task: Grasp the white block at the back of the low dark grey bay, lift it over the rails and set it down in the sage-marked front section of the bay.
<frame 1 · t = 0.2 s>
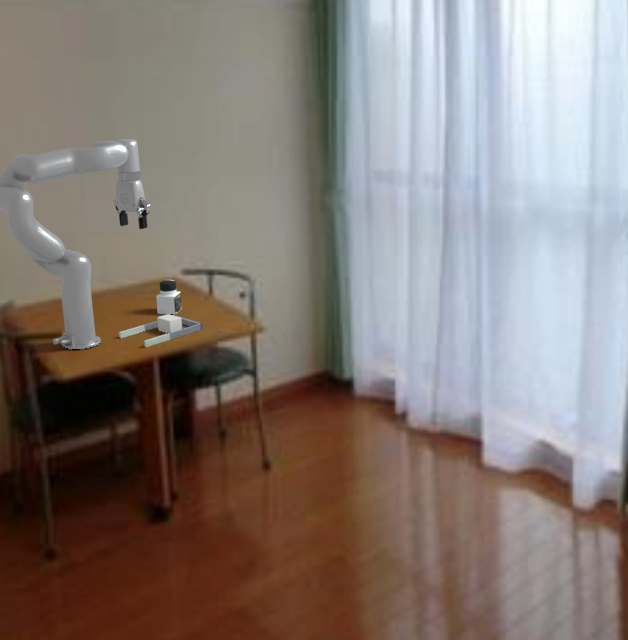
hand: (133, 226, 289), 36 cm above the table, tool pointing down, fingers open, 9 cm apart
white block: (170, 331, 295), on the table
bay: (163, 332, 293), on the table
medicine bottle: (169, 312, 316), on the table
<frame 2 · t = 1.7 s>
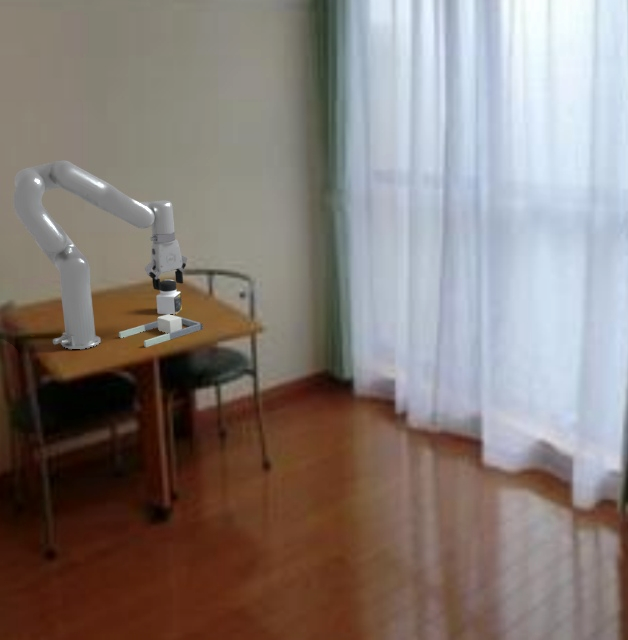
hand: (168, 286, 290), 16 cm above the table, tool pointing down, fingers open, 9 cm apart
nothing on the table moved.
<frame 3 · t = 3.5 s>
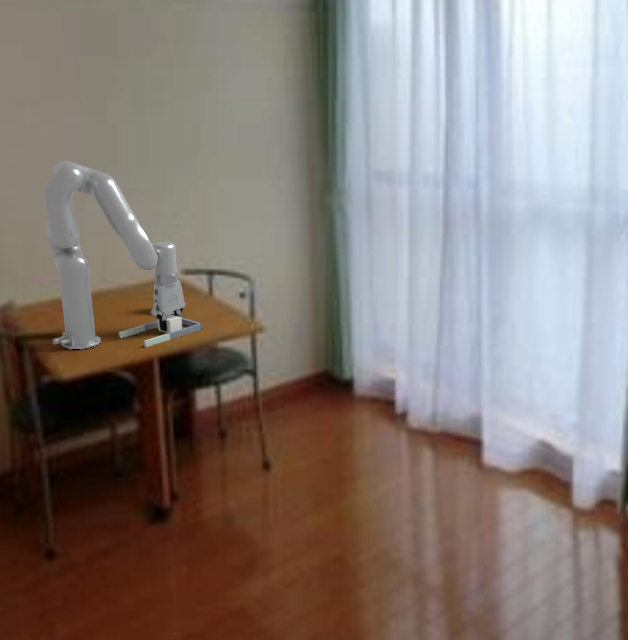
hand: (170, 328, 295), 1 cm above the table, tool pointing down, fingers closed on white block, 5 cm apart
white block: (170, 330, 295), on the table, touching gripper
everything else where it was.
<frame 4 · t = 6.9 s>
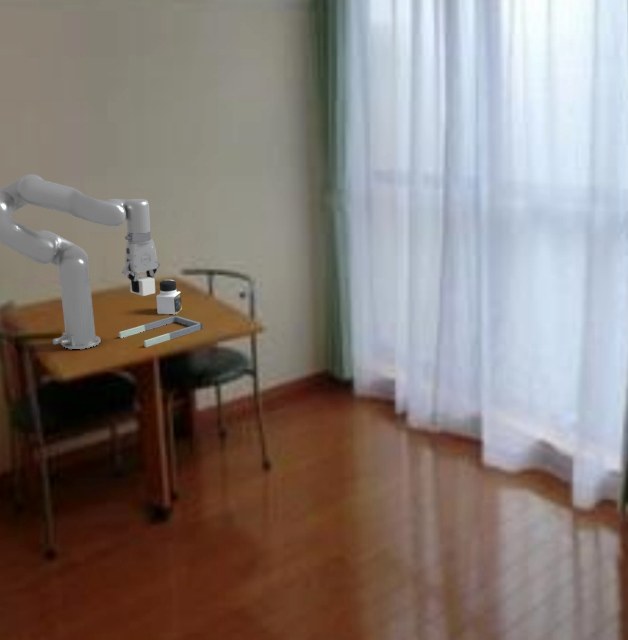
hand: (142, 289, 283), 17 cm above the table, tool pointing down, fingers closed on white block, 5 cm apart
white block: (142, 292, 283), point 16 cm above the table, touching gripper
everything else where it was.
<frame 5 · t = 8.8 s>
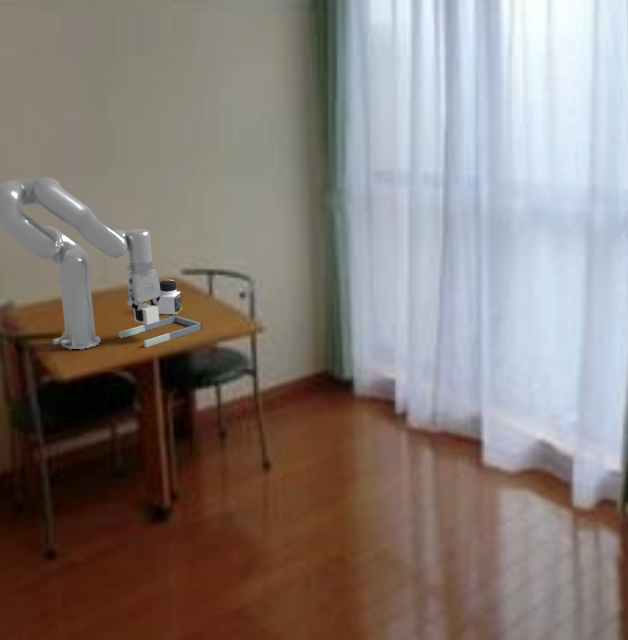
hand: (146, 318, 286), 7 cm above the table, tool pointing down, fingers closed on white block, 5 cm apart
white block: (147, 320, 286), point 6 cm above the table, touching gripper
everything else where it was.
when the fingers open (2 cm above the table, at t = 10.2 s): white block drops 1 cm, on the table.
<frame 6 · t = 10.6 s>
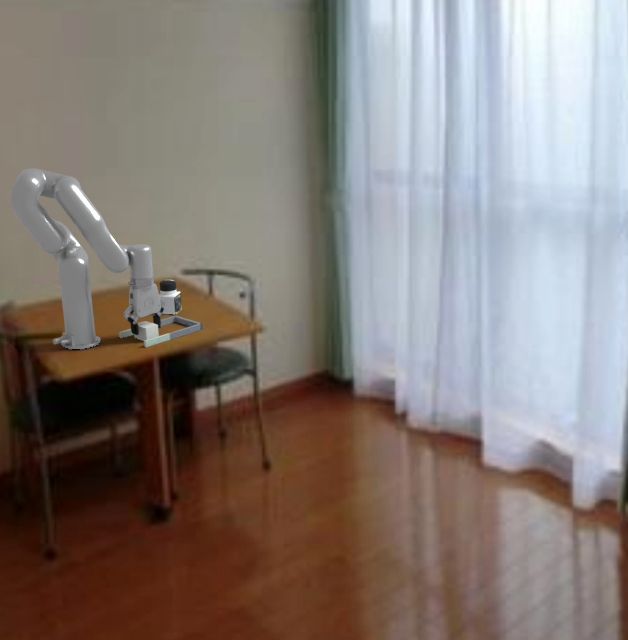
hand: (146, 330, 287), 3 cm above the table, tool pointing down, fingers open, 8 cm apart
white block: (146, 338, 288), on the table
everything else where it was.
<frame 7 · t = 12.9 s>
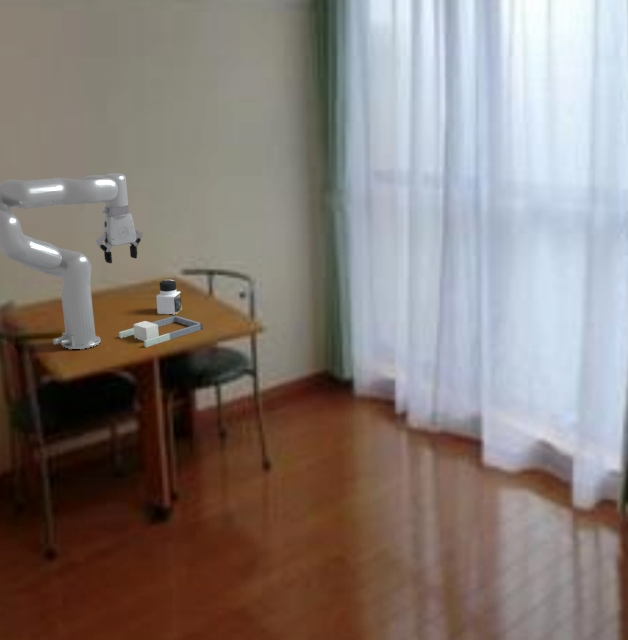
hand: (121, 260, 289), 25 cm above the table, tool pointing down, fingers open, 9 cm apart
nothing on the table moved.
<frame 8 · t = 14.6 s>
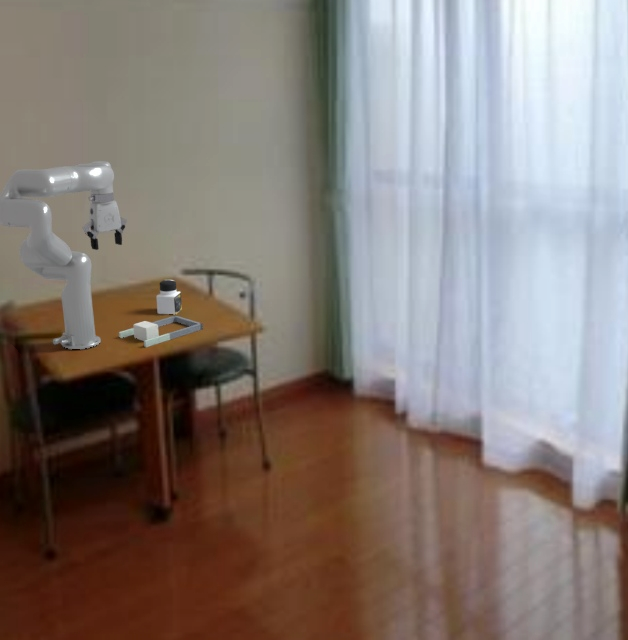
hand: (107, 246, 295), 28 cm above the table, tool pointing down, fingers open, 9 cm apart
nothing on the table moved.
at the end: white block inside the target area (0.1 cm from its centre), on the table; white block tilted 0°; the gripper is holding nothing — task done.
